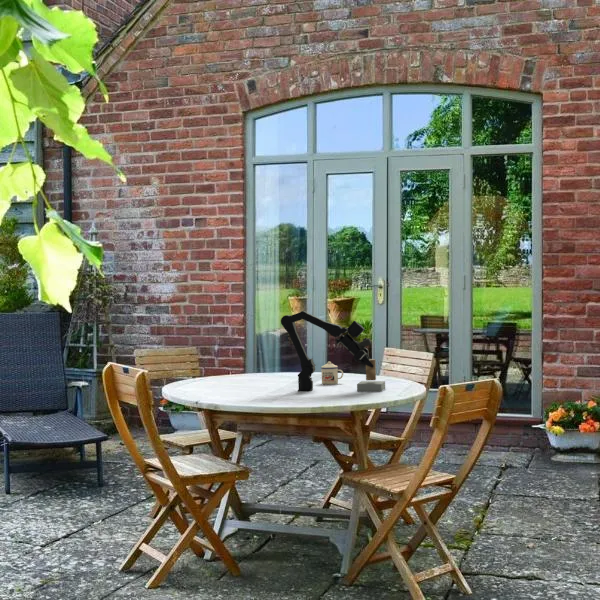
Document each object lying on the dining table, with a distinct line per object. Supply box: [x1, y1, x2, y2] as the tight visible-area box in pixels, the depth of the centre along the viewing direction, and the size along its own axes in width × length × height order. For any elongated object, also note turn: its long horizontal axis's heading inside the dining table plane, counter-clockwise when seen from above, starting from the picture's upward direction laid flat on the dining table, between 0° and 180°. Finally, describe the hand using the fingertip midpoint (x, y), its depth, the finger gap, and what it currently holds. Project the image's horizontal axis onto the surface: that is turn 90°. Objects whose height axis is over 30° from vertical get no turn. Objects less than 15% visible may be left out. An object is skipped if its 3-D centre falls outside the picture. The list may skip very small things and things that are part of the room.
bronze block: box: [365, 358, 377, 381], centre depth 416 cm, size 4×4×10 cm
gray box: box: [356, 380, 386, 392], centre depth 416 cm, size 12×12×4 cm
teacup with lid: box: [320, 361, 344, 385], centre depth 449 cm, size 12×9×12 cm
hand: (373, 366), depth 415 cm, fingers closed on bronze block, 4 cm apart
